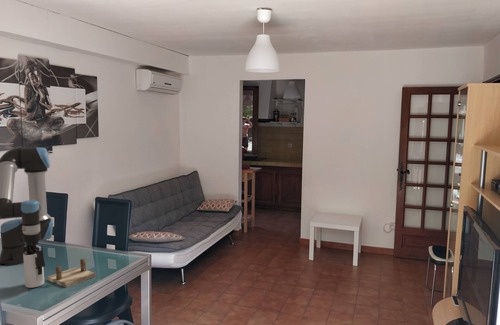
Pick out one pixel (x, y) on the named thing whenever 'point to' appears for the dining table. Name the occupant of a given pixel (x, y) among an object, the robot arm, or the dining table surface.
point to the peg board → (71, 275)
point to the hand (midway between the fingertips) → (34, 278)
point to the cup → (31, 271)
